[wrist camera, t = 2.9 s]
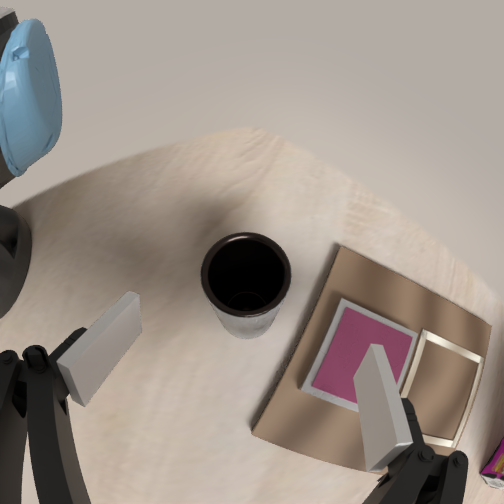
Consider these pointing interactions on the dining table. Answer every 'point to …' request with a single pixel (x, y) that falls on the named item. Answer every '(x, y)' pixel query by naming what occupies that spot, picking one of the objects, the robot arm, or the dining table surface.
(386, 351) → the ink pad
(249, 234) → the gray cylinder
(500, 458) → the candy bar box
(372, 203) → the dining table surface
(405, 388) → the walnut board
